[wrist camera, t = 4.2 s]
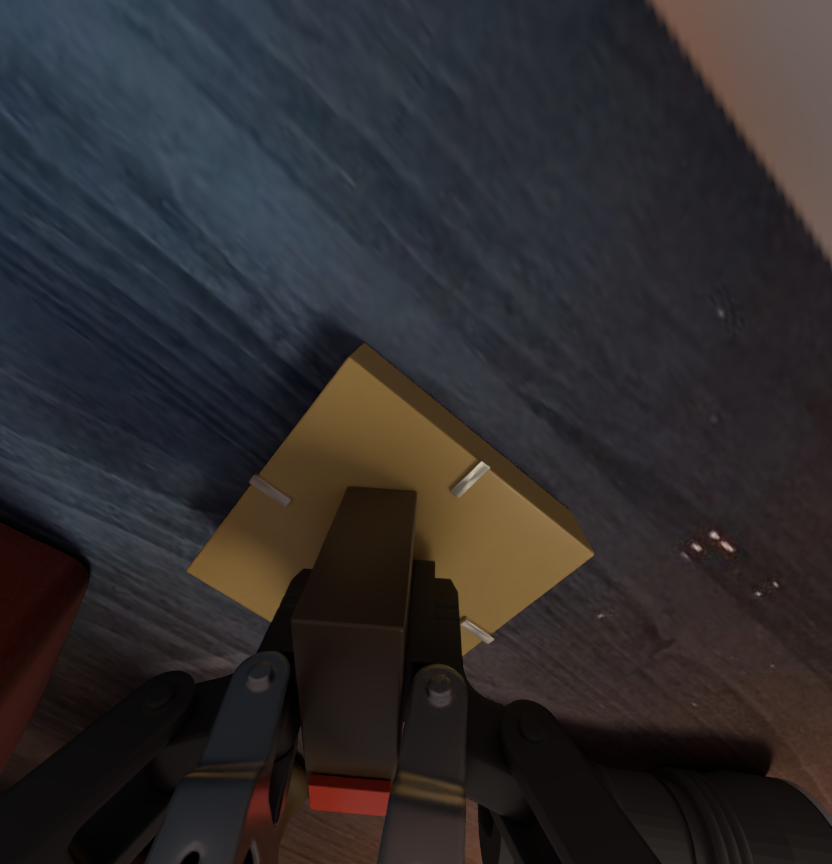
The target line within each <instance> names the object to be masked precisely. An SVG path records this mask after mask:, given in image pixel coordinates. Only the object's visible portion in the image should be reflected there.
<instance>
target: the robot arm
mask: <svg viewBox="0 0 832 864" xmlns="http://www.w3.org/2000/svg"><path fill="white" fill-rule="evenodd" d="M311 571H312V569H306V568H303V569H302V570H301V571H300V572H299V573H298V574H297V575H296V576H295V577H294V578H293V579H292V580H291V582H290V584H289V586H288V588H287V590H286V592H285V596H283V599H282V601H281V603H280V606H279V607H278V609H277V611H276V613H275V615H274V618H273V620H272V622H271V624H270V626H269V628H268V630H267V632H266V634H265V636H264V639H263V641H262V643H261V645H260V647H259V649H258V651H257V653H256V654H254V655H252V656H250V657H249V658H247V659H246V660H245V661H243V662H242V663H241V664H240V665H239V666H238V668H237V669H236V670H235V672H234V673H233V674H230V675H228V676H225V677H222V678H218V679H213V680H209V681H205V682H201V683H196V684H195V683H194V680H193V678H192V677H191V676H190V675H189V674H188V673H186V672H183V671H170V672H165V673H162V674H160V675H158V676H155V677H154V678H152V679H150V680H149V681H147V682H146V683H144V684H143V685H142V686H140V687H139V688H138V689H137V690H135V691H134V692H133V693H131V694H130V695H129V696H128V697H126V698H125V699H124V700H122V701H121V702H120V703H119V704H117V705H116V706H115V707H113V708H112V709H111V710H110V711H108V712H107V713H106V714H104V715H103V716H102V717H101V718H99V719H98V720H97V721H95V722H94V723H93V724H92V725H90V726H89V727H88V728H86V729H85V730H84V731H83V732H81V733H80V734H79V735H77V736H76V737H75V738H74V739H72V740H71V741H70V742H68V743H67V744H66V745H65V746H63V747H62V748H61V749H59V750H58V751H57V752H56V753H54V754H53V755H52V756H50V757H49V758H48V759H47V760H45V761H44V762H43V763H41V764H40V765H39V766H38V767H36V768H35V769H34V770H32V771H31V772H30V773H29V774H27V775H26V776H25V777H23V778H22V779H21V780H20V781H18V782H17V783H16V784H14V785H13V786H12V787H11V788H9V789H8V790H7V791H5V792H4V793H3V794H2V795H0V864H130V863H131V862H132V861H133V860H134V858H135V857H136V856H137V855H138V854H139V853H140V852H141V851H142V850H143V849H144V847H145V846H146V845H147V844H148V843H149V842H150V841H151V840H152V839H153V838H154V836H155V835H156V836H155V839H154V841H153V843H152V846H151V848H150V851H149V853H148V855H147V858H146V860H145V863H144V864H278V853H279V840H280V833H281V827H282V822H283V817H284V812H285V807H286V802H287V796H288V791H289V786H290V781H291V776H292V771H293V766H294V761H295V756H296V751H297V745H298V733H299V729H300V726H301V720H300V710H299V700H298V691H297V681H296V671H295V662H294V652H293V642H292V633H291V623H290V620H291V618H292V616H293V613H294V611H295V608H296V606H297V604H298V601H299V599H300V597H301V594H302V592H303V590H304V587H305V585H306V583H307V580H308V578H309V576H310V573H311ZM402 722H405V724H404V729H403V735H402V741H401V746H400V752H399V758H398V763H397V769H396V774H395V778H394V779H393V782H392V785H391V790H390V794H389V800H388V805H387V810H386V816H385V821H384V827H383V832H382V838H381V843H380V849H379V854H378V860H377V864H464V856H465V825H466V797H467V798H469V799H471V800H473V801H475V802H477V803H479V804H481V805H482V806H484V807H486V808H488V809H489V810H490V813H491V815H492V817H493V819H494V821H495V823H496V825H497V827H498V830H499V832H500V834H501V836H502V838H503V840H504V842H505V844H506V846H507V848H508V850H509V852H510V854H511V856H512V858H513V860H514V862H515V864H662V863H661V862H660V860H659V859H658V858H657V856H656V855H655V854H654V852H653V851H652V850H651V848H650V847H649V845H648V844H647V843H646V841H645V840H644V839H643V837H642V836H641V834H640V833H639V832H638V830H637V829H636V828H635V826H634V825H633V824H632V822H631V821H630V819H629V818H628V817H627V815H626V814H625V813H624V811H623V810H622V808H621V807H620V806H619V804H618V803H617V802H616V800H615V799H614V798H613V796H612V795H611V793H610V792H609V791H608V789H607V788H606V787H605V785H604V784H603V782H602V781H601V780H600V778H599V777H598V776H597V774H596V773H595V772H594V770H593V769H592V767H591V766H590V765H589V763H588V762H587V761H586V759H585V758H584V756H583V755H582V754H581V752H580V751H579V750H578V748H577V747H576V746H575V744H574V743H573V741H572V740H571V739H570V737H569V736H568V735H567V733H566V732H565V730H564V729H563V728H562V726H561V725H560V724H559V722H558V721H557V720H556V718H555V717H554V716H553V715H552V713H551V712H550V711H548V710H547V709H546V708H545V707H543V706H542V705H540V704H538V703H536V702H534V701H530V700H516V701H513V702H511V703H510V704H508V706H507V707H506V706H503V705H501V704H499V703H496V702H494V701H492V700H489V699H487V698H485V697H483V696H482V695H481V694H479V693H478V692H477V691H476V690H475V689H474V688H473V687H472V686H471V685H470V683H469V682H468V680H467V678H466V676H465V673H464V669H463V659H462V644H461V629H460V614H459V599H458V591H457V589H456V587H455V586H454V584H453V582H452V580H451V579H446V578H435V561H429V560H415V559H414V560H413V571H412V583H411V595H410V607H409V619H408V632H407V644H406V656H405V673H404V693H403V713H402Z"/></svg>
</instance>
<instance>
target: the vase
mask: <svg viewBox="0 0 832 864" xmlns="http://www.w3.org/2000/svg"><path fill="white" fill-rule="evenodd" d="M147 855H148V853H147V852H143V851H141V852H140V853H139V854H138V855H137V856H136V857H135V858H134V860H133V861H132V862H131V863H130V864H144V863H145V860H146V858H147Z"/></svg>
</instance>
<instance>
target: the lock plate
mask: <svg viewBox="0 0 832 864" xmlns="http://www.w3.org/2000/svg"><path fill="white" fill-rule="evenodd" d="M249 483H250V484H251V485H250V487H249V488H248V489H247V490H246V492H245V493H244V494H243V496H242V497H241V498H240V500H239V501H238V502H237V504H236V505H235V506H234V508H233V509H232V510H231V512H230V513H229V514H228V515H227V517H226V518H225V519H224V521H223V522H222V523H221V525H220V526H219V527H218V529H217V530H216V531H215V533H214V534H213V535H212V536H211V538H210V539H209V540H208V542H207V543H206V544H205V546H204V547H203V548H202V550H201V551H200V552H199V554H198V555H197V556H196V558H195V559H194V560H193V561H192V563H191V564H190V565H189V567H188V568H187V570H186V571H187V572H188V573H190V574H191V575H193V576H195V577H196V578H198V579H200V580H201V581H203V582H205V583H206V584H208V585H210V586H211V587H213V588H215V589H216V590H218V591H220V592H221V593H223V594H225V595H226V596H228V597H230V598H231V599H233V600H235V601H236V602H238V603H240V604H241V605H243V606H245V607H246V608H248V609H250V610H251V611H253V612H255V613H256V614H258V615H260V616H261V617H263V618H265V619H266V620H268V621H270V622H272V620H273V618H274V615H275V613H276V611H277V609H278V607H279V606H280V603H281V601H282V599H283V596H285V592H286V590H287V588H288V586H289V584H290V582H291V580H292V579H293V578H294V577H295V576H296V575H297V574H298V573H299V572H300V571H301V570H302V569H303V568H306V569H313V566H314V564H315V562H316V559H317V557H318V555H319V552H320V550H321V547H322V545H323V543H324V540H325V538H326V536H327V533H328V531H329V529H330V526H331V524H332V522H333V519H334V517H335V515H336V512H337V510H338V508H339V505H340V503H341V501H342V498H343V496H344V493H345V491H346V489H347V487H349V486H351V487H367V488H382V489H397V490H412V491H417V511H416V530H415V548H414V559H415V560H429V561H435V578H446V579H451V580H452V582H453V584H454V586H455V587H456V589H457V591H458V599H459V614H460V629H461V644H462V656H463V655H465V654H466V653H467V652H468V651H470V650H471V649H472V648H474V647H475V646H476V645H478V644H479V643H480V642H481V641H484V642H485V643H487V644H489V643H491V642H492V641H493V640H494V639H495V638H494V635H492V633H493V632H495V631H496V630H497V629H498V628H500V627H501V626H502V625H504V624H505V623H506V622H508V621H509V620H510V619H511V618H513V617H514V616H515V615H517V614H518V613H519V612H521V611H522V610H523V609H524V608H526V607H527V606H528V605H530V604H531V603H532V602H534V601H535V600H536V599H538V598H539V597H540V596H541V595H543V594H544V593H545V592H547V591H548V590H549V589H551V588H552V587H553V586H554V585H556V584H557V583H558V582H560V581H561V580H562V579H564V578H565V577H566V576H567V575H569V574H570V573H571V572H573V571H574V570H575V569H577V568H578V567H579V566H581V565H582V564H583V563H584V562H586V561H587V560H588V559H590V558H591V557H592V556H594V552H593V550H592V548H591V546H590V545H589V543H588V541H587V539H586V538H585V536H584V534H583V532H582V531H581V529H580V527H579V525H578V523H577V522H576V520H575V518H574V516H573V515H572V513H571V511H570V510H568V509H567V508H566V507H565V506H563V505H562V504H561V503H560V502H559V501H557V500H556V499H555V498H554V497H552V496H551V495H550V494H549V493H548V492H546V491H545V490H544V489H543V488H541V487H540V486H539V485H538V484H537V483H535V482H534V481H533V480H532V479H530V478H529V477H528V476H527V475H526V474H524V473H523V472H522V471H521V470H520V469H518V468H517V467H516V466H515V465H513V464H512V463H511V462H510V461H509V460H507V459H506V458H505V457H504V456H502V455H501V454H500V453H499V452H498V451H496V450H495V449H494V448H493V447H491V446H490V445H489V444H488V443H487V442H485V441H484V440H483V439H482V438H480V437H479V436H478V435H477V434H476V433H474V432H473V431H472V430H471V429H470V428H468V427H467V426H466V425H465V424H463V423H462V422H461V421H460V420H459V419H457V418H456V417H455V416H454V415H452V414H451V413H450V412H449V411H448V410H446V409H445V408H444V407H443V406H441V405H440V404H439V403H438V402H437V401H435V400H434V399H433V398H432V397H430V396H429V395H428V394H427V393H426V392H424V391H423V390H422V389H421V388H420V387H418V386H417V385H416V384H415V383H413V382H412V381H411V380H410V379H409V378H407V377H406V376H405V375H404V374H402V373H401V372H400V371H399V370H398V369H396V368H395V367H394V366H393V365H391V364H390V363H389V362H388V361H387V360H385V359H384V358H383V357H382V356H380V355H379V354H378V353H377V352H376V351H374V350H373V349H372V348H371V347H369V346H368V345H367V344H366V343H363V344H362V345H361V346H360V347H359V348H358V349H356V350H355V351H354V352H353V353H352V354H351V355H350V356H349V357H348V358H347V359H346V360H345V362H344V363H343V364H342V365H341V367H340V368H339V369H338V371H337V372H336V373H335V375H334V376H333V377H332V379H331V380H330V381H329V383H328V384H327V385H326V387H325V388H324V389H323V390H322V392H321V393H320V394H319V396H318V397H317V398H316V400H315V401H314V402H313V404H312V405H311V406H310V408H309V409H308V410H307V412H306V413H305V414H304V415H303V417H302V418H301V419H300V421H299V422H298V423H297V425H296V426H295V427H294V429H293V430H292V431H291V433H290V434H289V435H288V437H287V438H286V439H285V440H284V442H283V443H282V444H281V446H280V447H279V448H278V450H277V451H276V452H275V454H274V455H273V456H272V458H271V459H270V460H269V462H268V463H267V464H266V465H265V467H264V468H263V469H262V471H261V472H260V473H259V474H257V473H255V474H254V475H253V476H252V478H251V479H250V480H249Z"/></svg>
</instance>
